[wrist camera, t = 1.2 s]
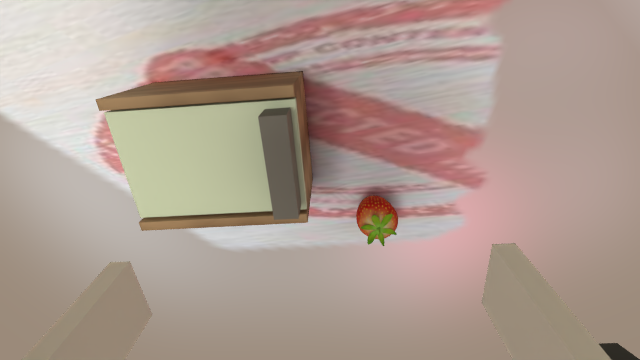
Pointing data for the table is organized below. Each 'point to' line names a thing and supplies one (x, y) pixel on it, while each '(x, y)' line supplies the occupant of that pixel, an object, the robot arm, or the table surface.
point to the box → (221, 93)
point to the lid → (212, 158)
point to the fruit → (376, 218)
